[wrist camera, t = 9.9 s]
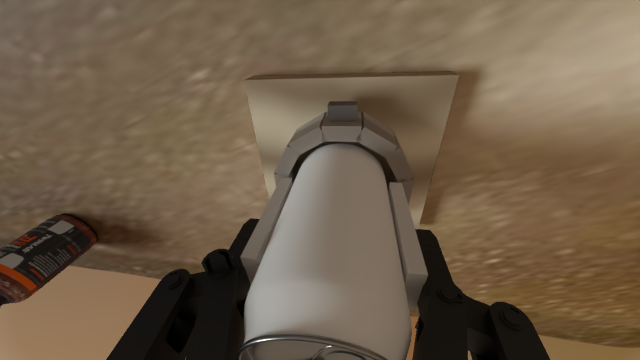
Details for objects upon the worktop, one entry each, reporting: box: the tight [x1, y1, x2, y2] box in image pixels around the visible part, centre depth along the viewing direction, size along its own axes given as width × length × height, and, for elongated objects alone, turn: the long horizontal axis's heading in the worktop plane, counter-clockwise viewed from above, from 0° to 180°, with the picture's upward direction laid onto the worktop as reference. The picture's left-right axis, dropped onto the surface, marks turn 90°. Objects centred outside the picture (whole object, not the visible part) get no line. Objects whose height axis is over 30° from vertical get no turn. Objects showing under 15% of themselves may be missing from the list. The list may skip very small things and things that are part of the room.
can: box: [237, 143, 412, 360], centre depth 12 cm, size 6×6×12 cm
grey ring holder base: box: [244, 71, 459, 229], centre depth 18 cm, size 14×14×4 cm
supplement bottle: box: [0, 215, 97, 306], centre depth 27 cm, size 6×6×11 cm
